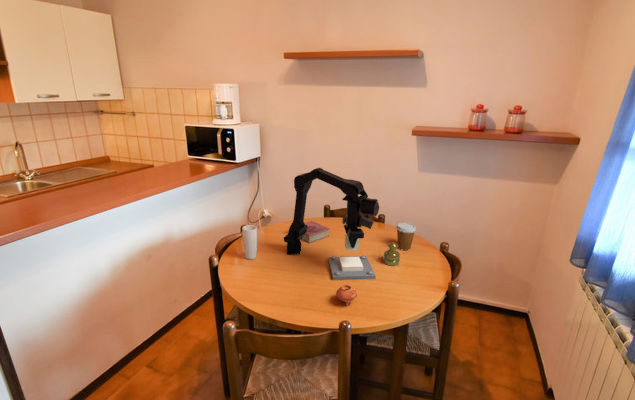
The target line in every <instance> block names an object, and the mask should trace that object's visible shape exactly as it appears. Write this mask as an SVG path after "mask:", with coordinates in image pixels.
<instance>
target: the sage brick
mask: <svg viewBox="0 0 635 400" xmlns="http://www.w3.org/2000/svg"><path fill="white" fill-rule="evenodd" d="M344 236H345V239H344V243H345V244H344V246H345V249H346V251H359V246H360V244H359V243H360V238H358V239H357V242H356V244H355V247H354V248H352V247H351V245H350V242H349V239H348V236H347V234H345V235H344Z"/></svg>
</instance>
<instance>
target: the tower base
mask: <svg viewBox="0 0 635 400" xmlns="http://www.w3.org/2000/svg"><path fill="white" fill-rule="evenodd" d="M327 261H328V264H329V268H330V272H331V276H332V280H333V281H344V280H345V281H349V280H376V277H377V275H376V273H375V271H374V270H373V267H372V265H371V262H370V261H369V259H368V257H367V255H358V256H357V255H354V256H353V255H352V256H351V255H350V256H349V255H348V256H344V255H343V256H335V255H331V256H328V258H327Z"/></svg>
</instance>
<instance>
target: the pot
mask: <svg viewBox="0 0 635 400" xmlns="http://www.w3.org/2000/svg"><path fill="white" fill-rule="evenodd" d="M335 296H336V298H337V299H338V300H339V301H342V302H345V305H346V306H347V307H348V306H349V303H350V302H352V301H354V300H355V299H356V298H357V297H358V292H357V290H356V289H355V287H353V286H351V285H349V284H343V285H342V286H340V287H339V288H338V289H336V291H335Z"/></svg>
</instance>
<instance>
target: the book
mask: <svg viewBox="0 0 635 400" xmlns="http://www.w3.org/2000/svg"><path fill="white" fill-rule="evenodd" d="M304 224H305V225H307V233H305V235H304V236H303V237H302V238H301V239H300V241H303V242H306V243H308V244H312V243H314V242H318V241H320V240H323V239H326V238H328V237H330V235H328V233H329V232H328V231H329V230H330V227H328V226H326V225H325V226H324V225H322V224H320V223H318V222H315V221H313V220H309V221H307V222H306V221H304ZM317 240H318V241H317Z"/></svg>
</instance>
